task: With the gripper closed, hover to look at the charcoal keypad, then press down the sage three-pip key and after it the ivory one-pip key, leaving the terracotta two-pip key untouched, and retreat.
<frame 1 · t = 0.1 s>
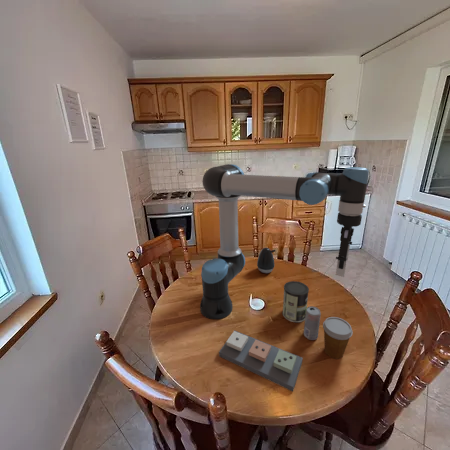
hand: (341, 267, 90), 28 cm above the table, fingers open, 13 cm apart
energy drink: (310, 335, 95), on the table
coffee can: (294, 314, 107), on the table
disposable coffee cup: (333, 352, 87), on the table
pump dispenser: (265, 271, 143), on the table
key three: (285, 362, 80), point 3 cm above the table, slide at 0.0 cm
key two: (260, 352, 84), point 3 cm above the table, slide at 0.0 cm
key one: (237, 342, 88), point 3 cm above the table, slide at 0.0 cm
keypad board: (259, 359, 85), on the table
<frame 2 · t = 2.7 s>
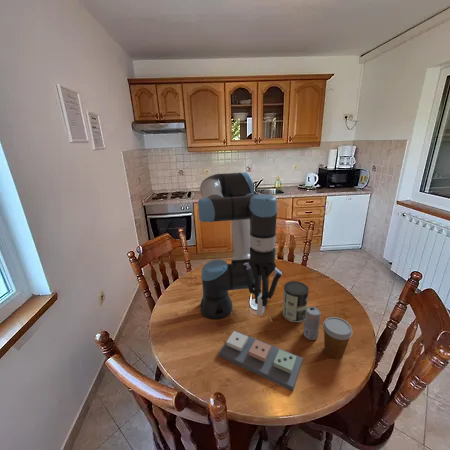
hand: (260, 312, 78), 20 cm above the table, fingers closed
nothing on the table moved.
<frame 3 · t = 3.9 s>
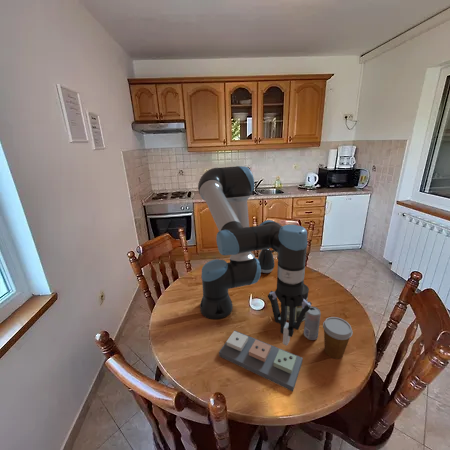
hand: (286, 341, 77), 12 cm above the table, fingers closed
nothing on the table moved.
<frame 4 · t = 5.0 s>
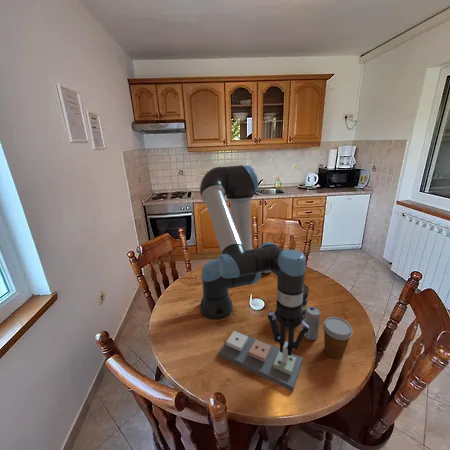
hand: (285, 360, 79), 5 cm above the table, fingers closed
key three: (284, 364, 80), point 3 cm above the table, slide at -0.7 cm, touching gripper
everything else where it was.
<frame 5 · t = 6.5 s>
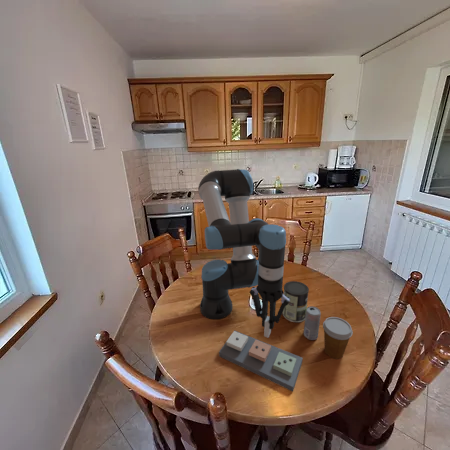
hand: (267, 334, 81), 12 cm above the table, fingers closed
key three: (284, 365, 80), point 2 cm above the table, slide at -1.1 cm
everything else where it was.
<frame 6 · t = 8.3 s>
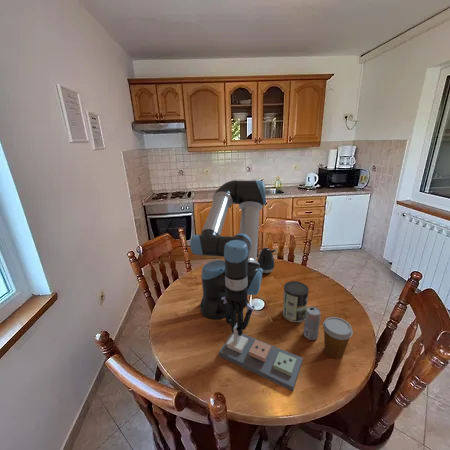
hand: (237, 340, 88), 4 cm above the table, fingers closed
key one: (237, 344, 89), point 2 cm above the table, slide at -0.9 cm, touching gripper
everything else where it was.
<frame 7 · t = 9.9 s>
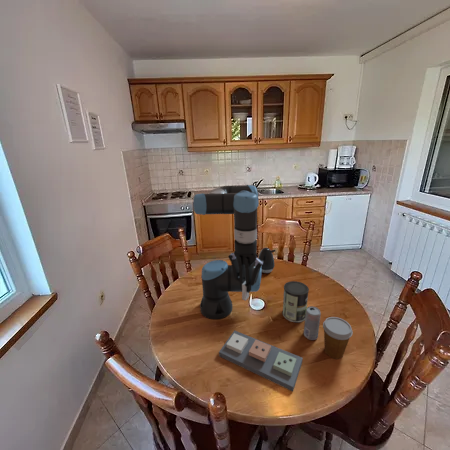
hand: (245, 298, 87), 19 cm above the table, fingers closed
key one: (237, 344, 89), point 2 cm above the table, slide at -1.1 cm
everything else where it was.
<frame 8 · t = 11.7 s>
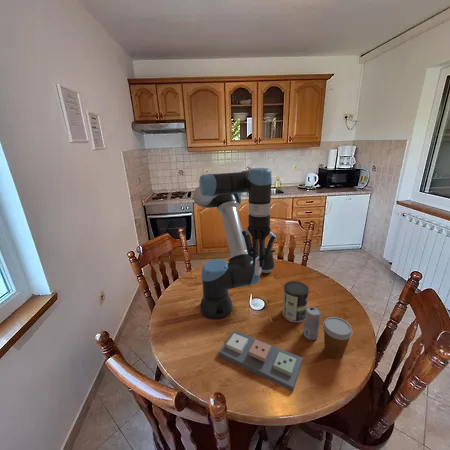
hand: (258, 273, 90), 26 cm above the table, fingers closed
nothing on the table moved.
at the end: key three slide at -1.1 cm; key one slide at -1.1 cm; key two slide at 0.0 cm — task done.
